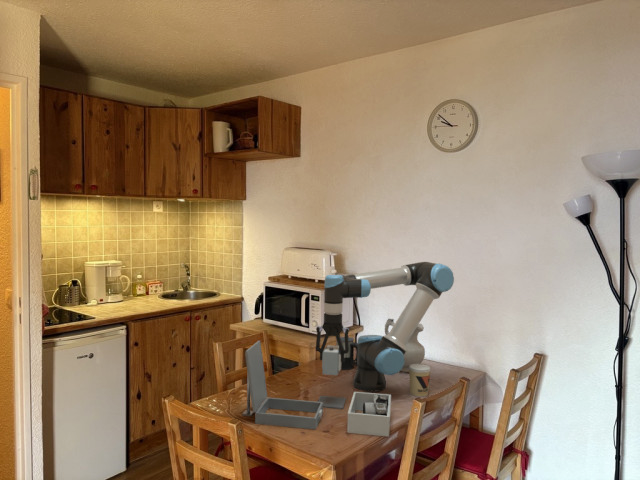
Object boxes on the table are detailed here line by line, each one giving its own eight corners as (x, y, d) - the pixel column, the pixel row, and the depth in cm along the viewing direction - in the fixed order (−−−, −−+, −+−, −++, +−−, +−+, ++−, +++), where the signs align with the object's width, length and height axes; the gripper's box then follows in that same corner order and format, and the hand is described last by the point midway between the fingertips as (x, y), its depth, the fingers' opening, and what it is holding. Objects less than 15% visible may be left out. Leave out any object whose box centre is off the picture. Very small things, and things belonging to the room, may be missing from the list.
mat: (346, 399, 199) (346, 397, 199) (342, 409, 188) (342, 407, 188) (320, 396, 201) (320, 395, 201) (315, 406, 190) (315, 405, 190)
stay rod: (254, 412, 184) (255, 350, 183) (251, 416, 180) (252, 353, 179) (245, 411, 184) (246, 349, 183) (242, 415, 181) (243, 352, 180)
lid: (260, 340, 188) (256, 340, 189) (247, 351, 173) (243, 351, 173) (267, 396, 189) (264, 396, 189) (255, 412, 173) (251, 412, 174)
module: (340, 367, 199) (341, 343, 198) (337, 375, 189) (337, 350, 188) (326, 366, 200) (327, 343, 199) (322, 374, 190) (323, 349, 189)
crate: (390, 412, 186) (391, 394, 186) (388, 436, 165) (389, 417, 165) (353, 408, 189) (354, 391, 189) (347, 432, 168) (347, 413, 167)
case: (324, 412, 185) (324, 402, 185) (317, 429, 170) (317, 418, 169) (267, 407, 189) (267, 397, 189) (255, 423, 174) (255, 412, 173)
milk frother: (333, 369, 239) (334, 340, 238) (339, 360, 254) (340, 333, 254) (361, 371, 236) (362, 342, 235) (365, 362, 251) (366, 335, 251)
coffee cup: (417, 399, 201) (418, 371, 200) (403, 391, 209) (404, 365, 209) (434, 395, 205) (435, 368, 205) (420, 388, 214) (421, 362, 213)
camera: (361, 412, 185) (362, 387, 185) (384, 413, 185) (385, 388, 185) (364, 430, 170) (365, 403, 170) (389, 431, 170) (390, 403, 169)
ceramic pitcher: (377, 372, 239) (377, 324, 236) (387, 359, 257) (387, 314, 254) (420, 378, 231) (421, 329, 228) (427, 364, 248) (428, 318, 246)
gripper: (357, 312, 195) (355, 367, 196) (312, 309, 199) (310, 364, 200) (355, 316, 188) (353, 373, 189) (308, 313, 191) (307, 369, 192)
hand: (331, 368), depth 194 cm, fingers closed on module, 6 cm apart
